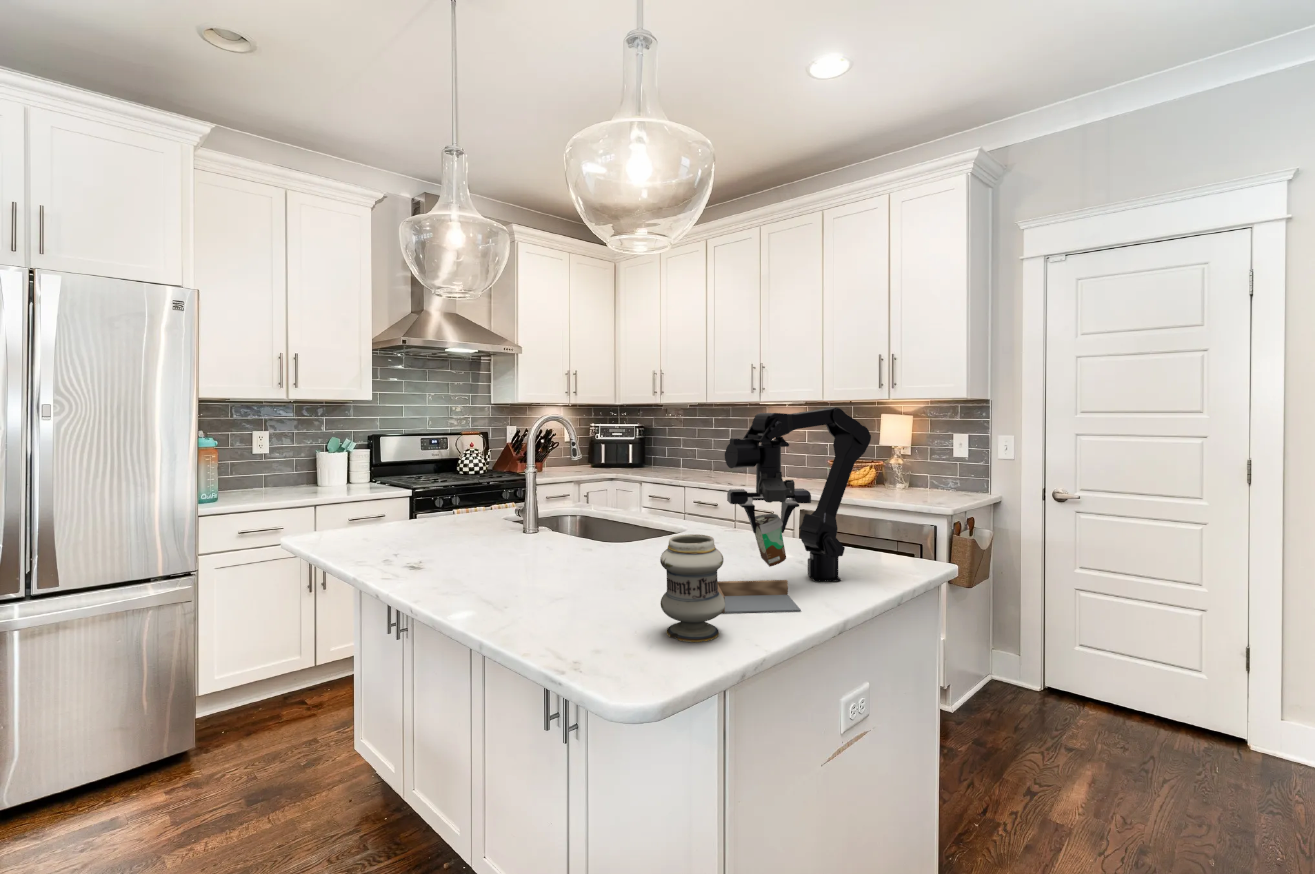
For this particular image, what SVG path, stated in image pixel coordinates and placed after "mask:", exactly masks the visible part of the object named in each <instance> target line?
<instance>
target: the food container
mask: <svg viewBox="0 0 1315 874" xmlns="http://www.w3.org/2000/svg"><path fill="white" fill-rule="evenodd" d="M755 521H756V533H754V535H755V539H756V543H757V546H758V547H757V548H758V550H759V554H760V558H761V559H762V560H763V562H765V564H767V565H768V567H770V568H771V567H774V566H776V565H779V564H782V563H783V562H785V561H786V560H787V554H786V549H785V544H784V543H785V542H784V538H783V533H782V531H781V526H782V525H783V523H782V521H781V516H779V515H778V514H777V513H766V514H759V515H755Z"/></svg>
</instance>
